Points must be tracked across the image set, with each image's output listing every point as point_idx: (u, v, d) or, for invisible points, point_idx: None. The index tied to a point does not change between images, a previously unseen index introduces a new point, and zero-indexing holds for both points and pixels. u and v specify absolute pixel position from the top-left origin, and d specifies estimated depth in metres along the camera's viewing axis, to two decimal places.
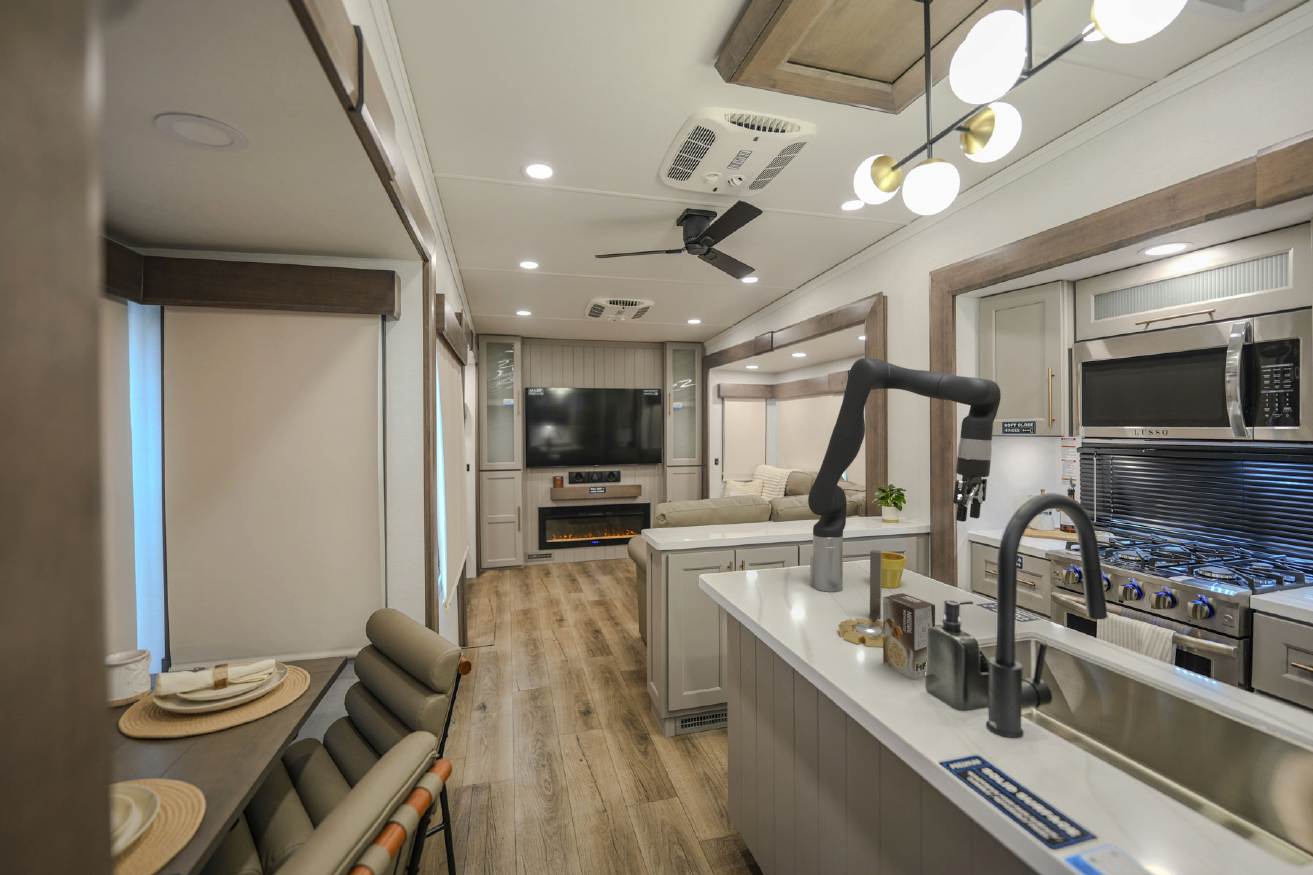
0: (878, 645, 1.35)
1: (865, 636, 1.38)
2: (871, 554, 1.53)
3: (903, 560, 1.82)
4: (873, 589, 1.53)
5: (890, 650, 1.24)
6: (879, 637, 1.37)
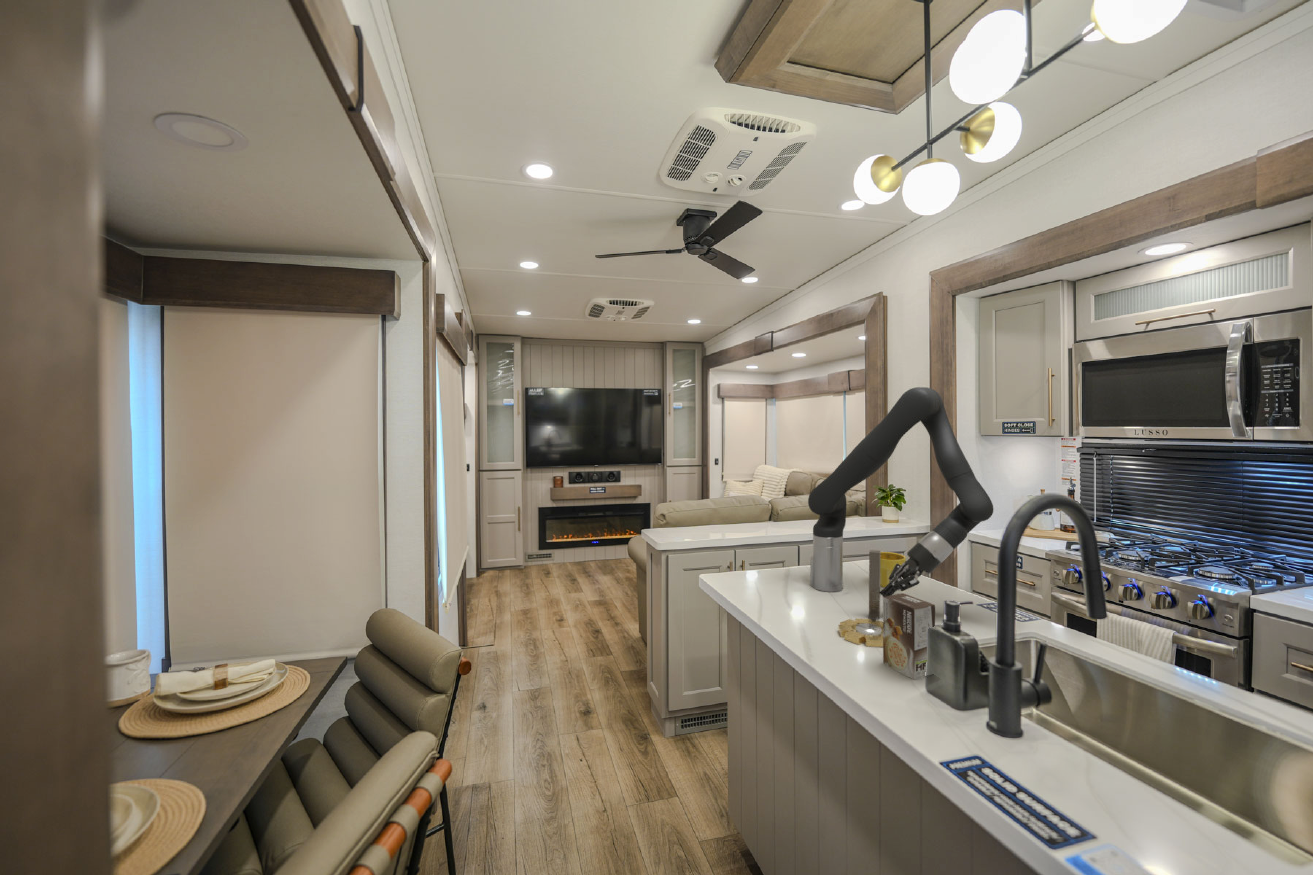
0: (879, 645, 1.35)
1: (865, 636, 1.37)
2: (870, 554, 1.53)
3: (903, 560, 1.82)
4: (872, 589, 1.53)
5: (890, 650, 1.24)
6: (879, 637, 1.37)
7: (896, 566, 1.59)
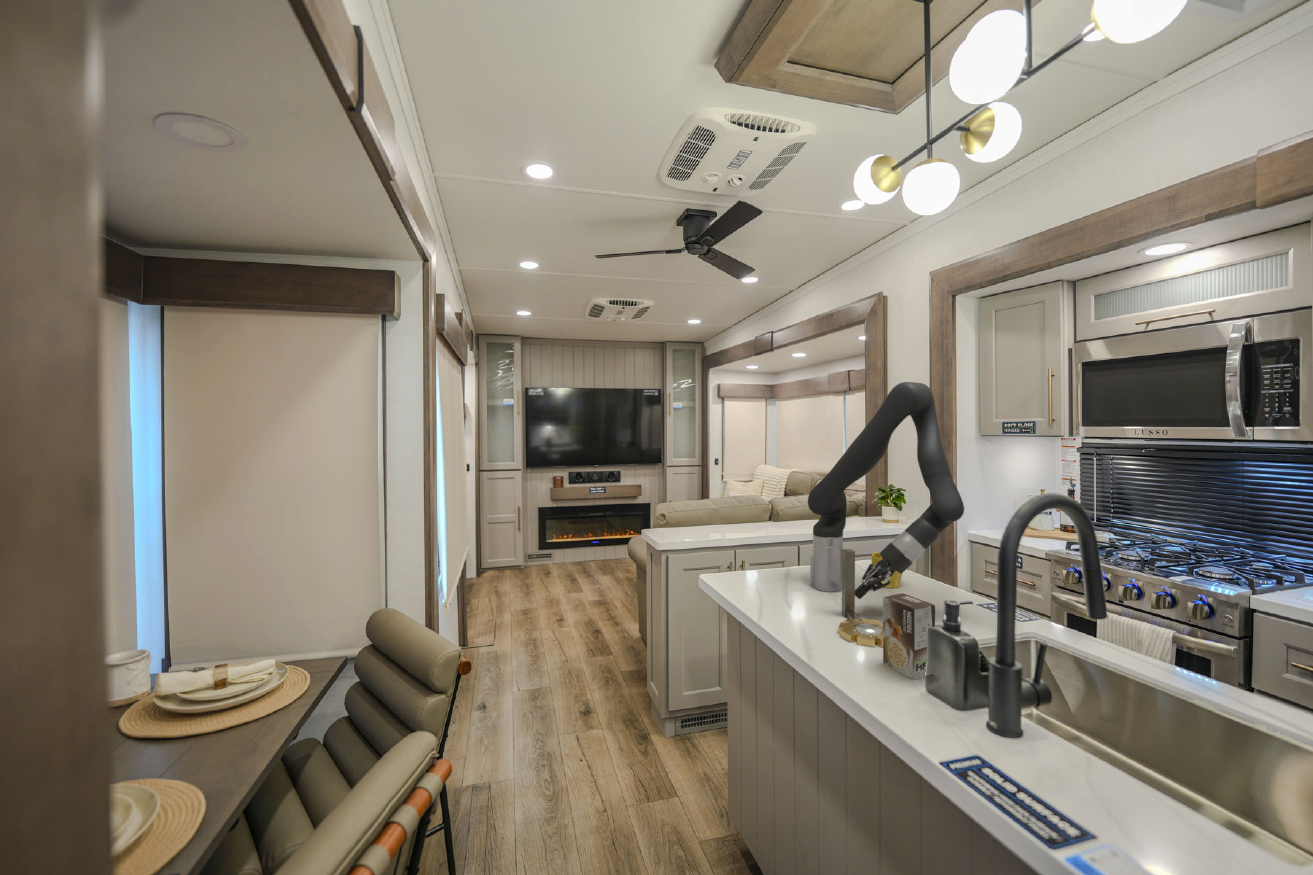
0: None
1: (877, 637, 1.37)
2: (846, 553, 1.54)
3: None
4: (848, 588, 1.55)
5: (890, 650, 1.24)
6: None
7: (870, 566, 1.60)
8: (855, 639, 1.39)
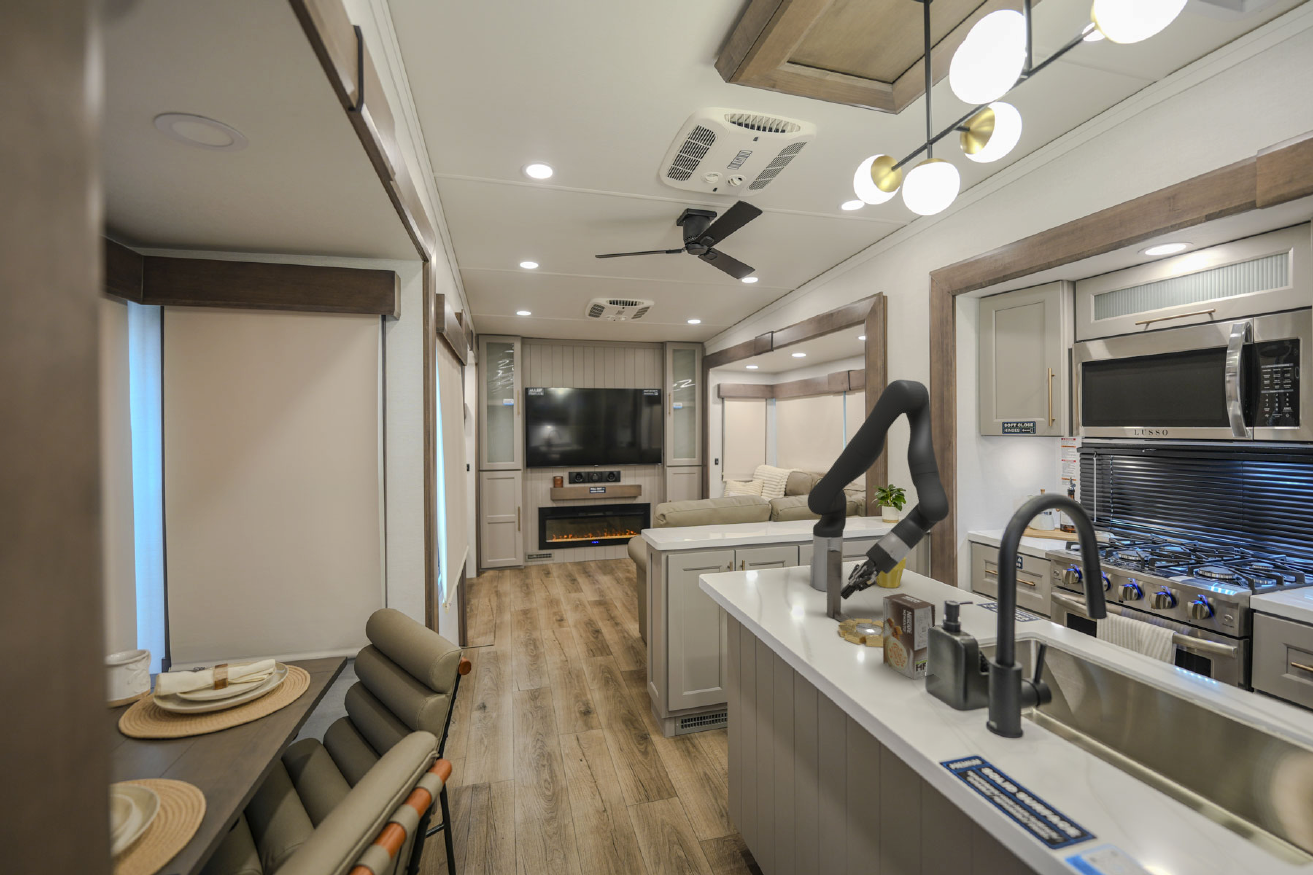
0: None
1: None
2: (834, 554, 1.53)
3: (903, 560, 1.82)
4: (835, 589, 1.54)
5: (890, 650, 1.24)
6: None
7: (856, 566, 1.59)
8: (862, 641, 1.37)
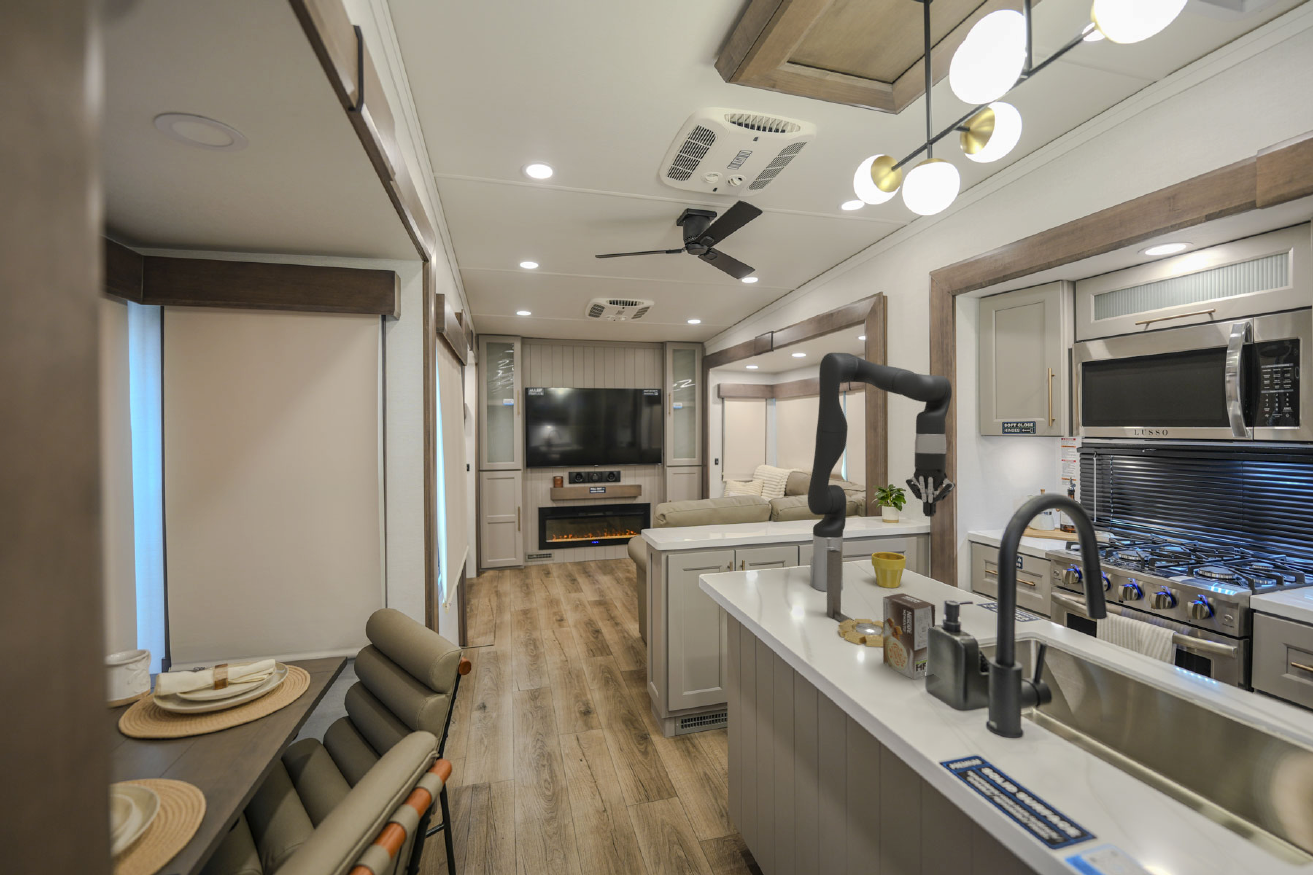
0: None
1: None
2: (833, 554, 1.53)
3: (903, 560, 1.82)
4: (835, 589, 1.54)
5: (890, 650, 1.24)
6: None
7: (909, 483, 1.54)
8: (862, 641, 1.37)
